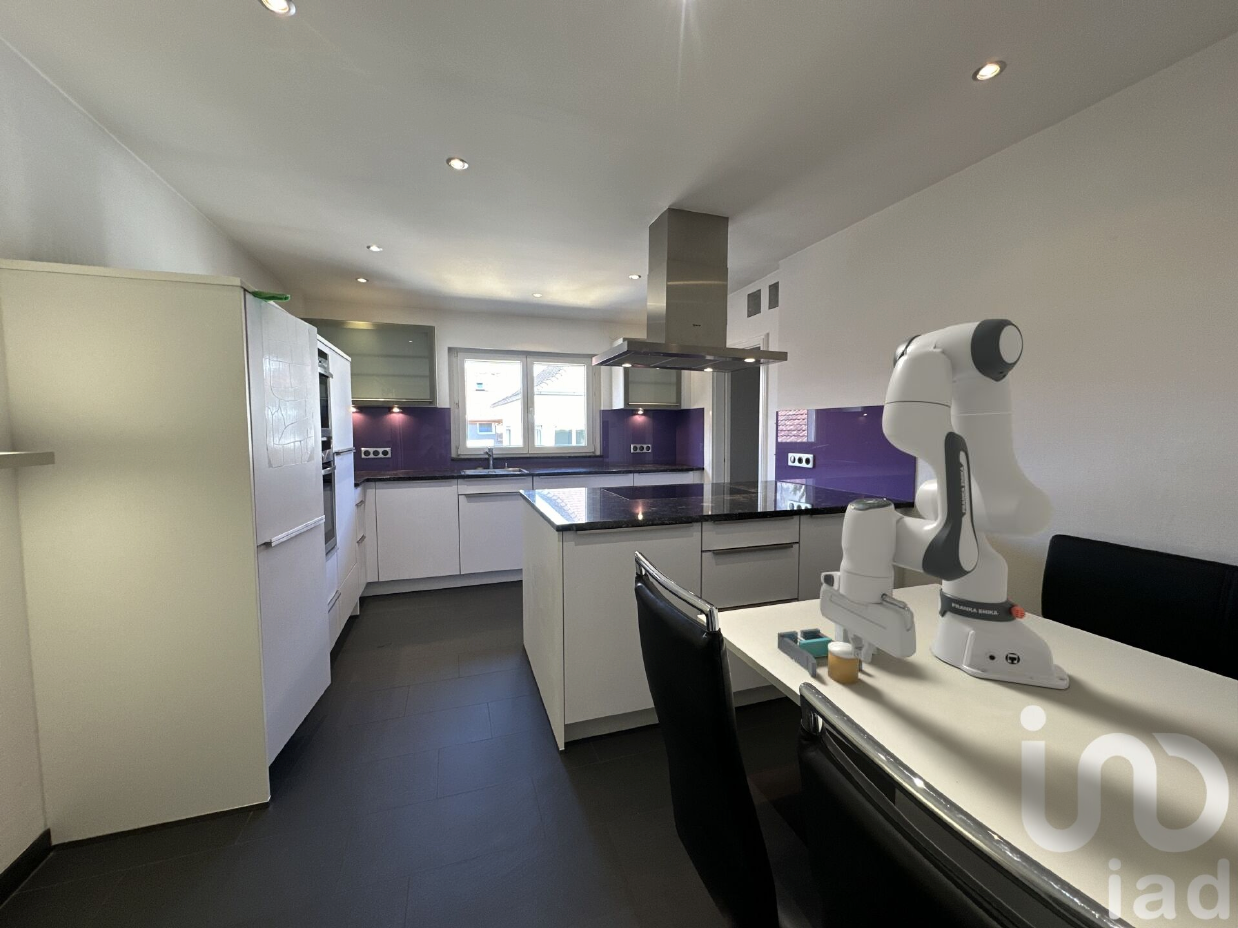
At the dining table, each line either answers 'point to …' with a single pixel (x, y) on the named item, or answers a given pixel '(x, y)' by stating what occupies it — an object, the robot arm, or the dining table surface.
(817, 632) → the lane
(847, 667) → the amber jar
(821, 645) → the teal open box
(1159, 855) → the dining table surface
